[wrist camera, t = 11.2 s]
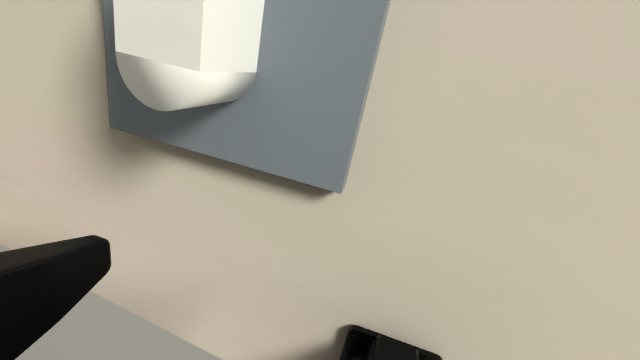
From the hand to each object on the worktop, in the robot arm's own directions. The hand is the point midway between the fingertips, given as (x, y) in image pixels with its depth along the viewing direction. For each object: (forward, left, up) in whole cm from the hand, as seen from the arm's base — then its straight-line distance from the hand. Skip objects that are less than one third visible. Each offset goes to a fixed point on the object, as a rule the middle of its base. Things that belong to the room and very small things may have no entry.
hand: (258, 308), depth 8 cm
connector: (+7, +8, -11) cm, 15 cm away
